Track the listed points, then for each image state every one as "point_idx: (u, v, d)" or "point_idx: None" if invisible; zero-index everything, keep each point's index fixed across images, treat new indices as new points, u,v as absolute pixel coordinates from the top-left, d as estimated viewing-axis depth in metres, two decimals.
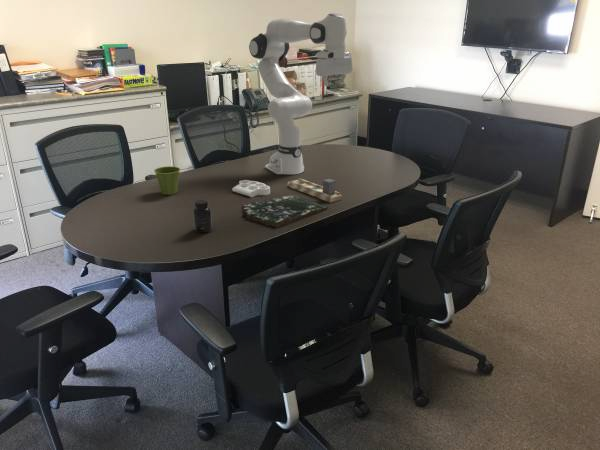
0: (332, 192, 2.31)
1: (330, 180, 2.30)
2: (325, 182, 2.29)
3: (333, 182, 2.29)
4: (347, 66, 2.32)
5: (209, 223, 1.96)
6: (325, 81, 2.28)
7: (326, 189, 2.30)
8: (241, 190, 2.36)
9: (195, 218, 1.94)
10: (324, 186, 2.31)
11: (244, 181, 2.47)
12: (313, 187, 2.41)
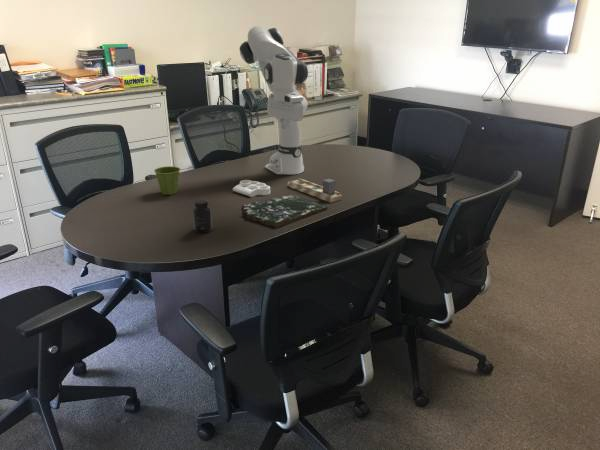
0: (332, 192, 2.31)
1: (330, 180, 2.30)
2: (325, 182, 2.29)
3: (333, 182, 2.29)
4: None
5: (209, 223, 1.96)
6: (287, 124, 2.14)
7: (326, 189, 2.30)
8: (241, 190, 2.36)
9: (195, 218, 1.94)
10: (324, 186, 2.31)
11: (245, 181, 2.48)
12: (313, 187, 2.41)
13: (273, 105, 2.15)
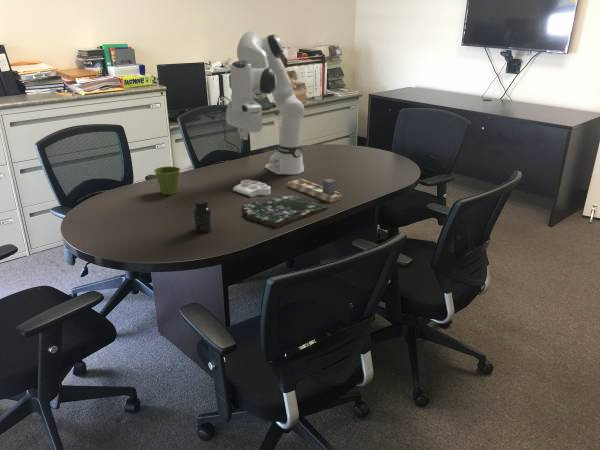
0: (332, 192, 2.31)
1: (330, 180, 2.30)
2: (325, 182, 2.29)
3: (333, 182, 2.29)
4: None
5: (209, 223, 1.96)
6: (246, 134, 2.04)
7: (326, 189, 2.30)
8: (241, 190, 2.37)
9: (195, 218, 1.94)
10: (324, 186, 2.31)
11: (246, 181, 2.48)
12: (313, 187, 2.41)
13: (231, 114, 2.05)
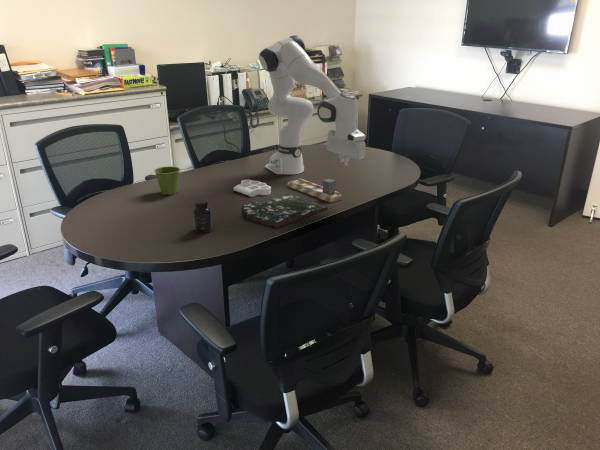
0: (332, 192, 2.31)
1: (330, 180, 2.30)
2: (325, 182, 2.29)
3: (333, 182, 2.29)
4: None
5: (209, 223, 1.96)
6: (347, 161, 2.18)
7: (326, 189, 2.30)
8: (242, 189, 2.37)
9: (195, 218, 1.94)
10: (324, 186, 2.31)
11: (246, 181, 2.48)
12: (313, 187, 2.41)
13: (333, 141, 2.19)
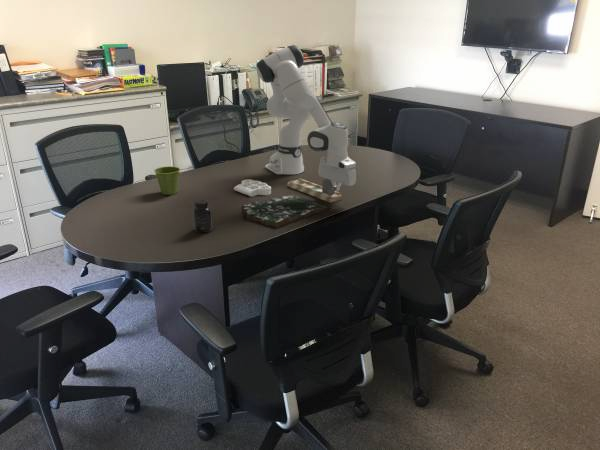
0: (332, 192, 2.31)
1: (330, 180, 2.30)
2: (325, 182, 2.30)
3: None
4: None
5: (209, 223, 1.96)
6: (339, 186, 2.27)
7: (325, 189, 2.30)
8: (242, 189, 2.37)
9: (195, 218, 1.94)
10: (324, 186, 2.31)
11: (247, 180, 2.48)
12: (313, 187, 2.41)
13: (325, 167, 2.28)
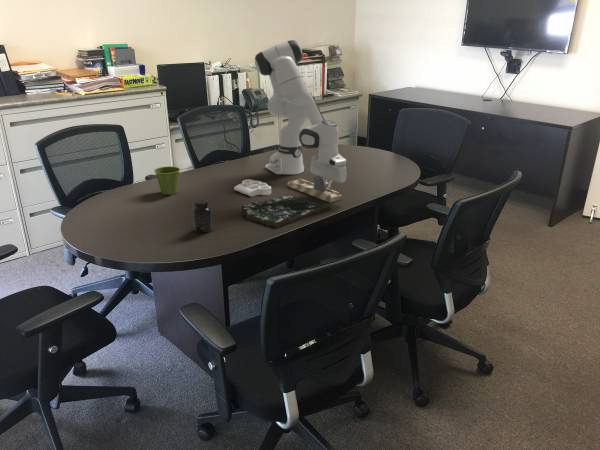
0: (323, 189, 2.35)
1: (321, 177, 2.34)
2: (316, 179, 2.33)
3: None
4: None
5: (209, 223, 1.96)
6: (330, 183, 2.31)
7: (317, 186, 2.34)
8: (242, 189, 2.37)
9: (195, 218, 1.94)
10: (315, 183, 2.35)
11: (247, 180, 2.48)
12: (313, 187, 2.41)
13: (316, 164, 2.32)
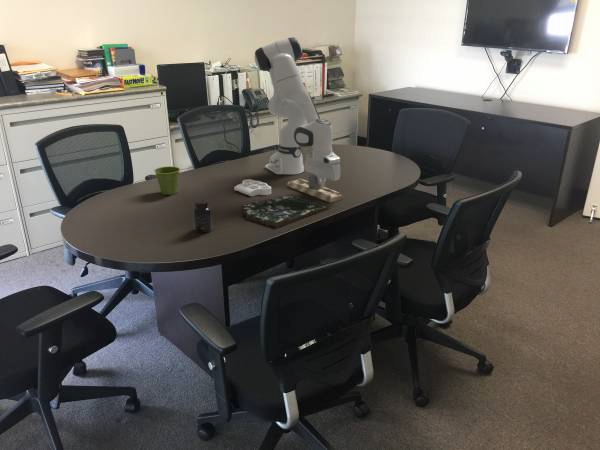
0: (318, 187, 2.38)
1: None
2: (311, 177, 2.36)
3: None
4: None
5: (209, 223, 1.96)
6: (324, 181, 2.33)
7: (312, 184, 2.37)
8: (242, 189, 2.37)
9: (195, 218, 1.94)
10: (310, 181, 2.37)
11: (248, 180, 2.48)
12: None
13: (311, 163, 2.34)
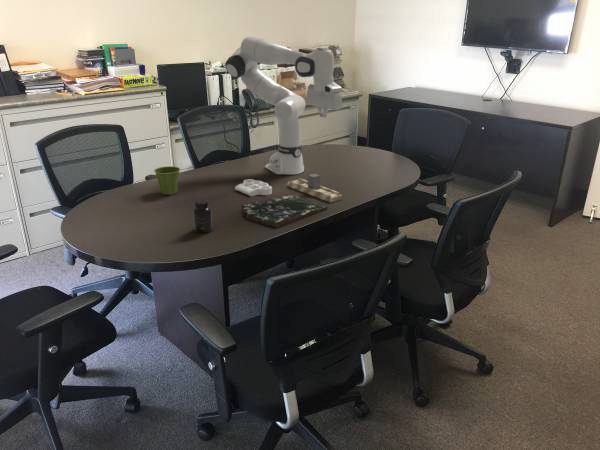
0: (317, 187, 2.38)
1: (315, 175, 2.37)
2: (310, 177, 2.36)
3: (318, 177, 2.36)
4: None
5: (209, 223, 1.96)
6: (325, 113, 2.32)
7: (311, 184, 2.37)
8: (242, 189, 2.38)
9: (195, 218, 1.94)
10: (309, 181, 2.37)
11: (249, 180, 2.49)
12: None
13: (312, 94, 2.34)
